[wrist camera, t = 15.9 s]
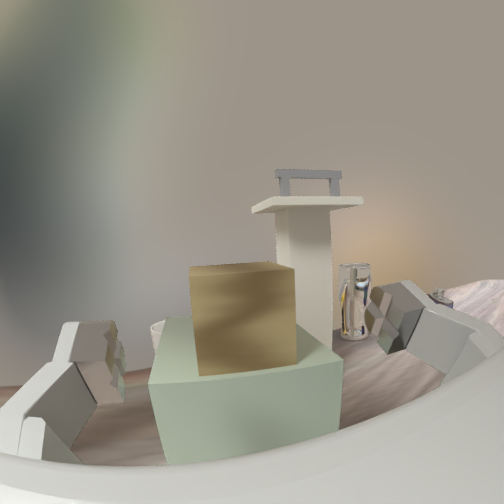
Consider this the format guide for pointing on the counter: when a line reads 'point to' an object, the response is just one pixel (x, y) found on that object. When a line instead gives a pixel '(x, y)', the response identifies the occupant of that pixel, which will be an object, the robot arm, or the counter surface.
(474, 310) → the counter surface
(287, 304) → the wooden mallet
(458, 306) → the counter surface
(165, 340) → the sage pedestal
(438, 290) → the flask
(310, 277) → the tall stand
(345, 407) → the counter surface
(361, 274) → the beer glass
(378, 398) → the counter surface
